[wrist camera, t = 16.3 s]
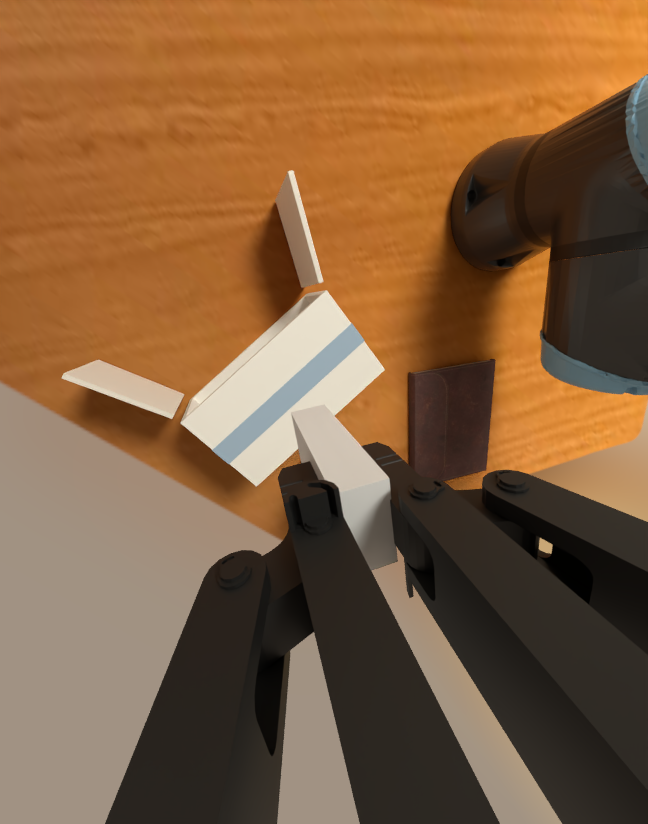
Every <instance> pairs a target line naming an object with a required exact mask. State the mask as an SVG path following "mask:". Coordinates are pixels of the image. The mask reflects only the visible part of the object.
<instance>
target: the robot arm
mask: <svg viewBox="0 0 648 824" xmlns="http://www.w3.org/2000/svg"><path fill="white" fill-rule="evenodd" d="M451 224H452V231H453V236H454V239H455V242H456V245H457V247H458V249H459V251H460V252H461V254H462V255H463V257H464V258H465V259H466V260H467V261H468V262H469V263H470V264H472V265H473V266H475V267H477V268H479V269H481V270H486V271H496V270H503V269H509V268H512V267H515V266H518V265H520V264H522V263H524V262H525V261H527V260H529V259H531V258H532V257H534V256H536V255H538V254H539V253H541V252H543V251H545V250H546V249H548V248H550V247H551V251H550V261H549V269H548V278H547V287H546V297H545V306H544V315H543V324H542V330H541V331H540V339H541V341H542V342H541V363H542V366H543V367H544V369H545V370H546V371H547V372H549V374H550V375H552V376H553V377H555V378H557V379H558V380H561V381H563V382H565V383H568V384H571V385H574V386H577V387H581V388H585V389H589V390H594V391H599V392H605V393H612V394H623V393H629V394H633V395H648V74H647V75H646V76H644V77H643V78H641V79H640V80H639V81H638V82H637V83H635V84H633V85H631V86H629V87H628V88H626V89H624V90H622V91H620V92H619V93H617V94H615V95H613V96H612V97H610V98H608V99H606V100H604V101H603V102H601V103H599V104H597V105H596V106H594V107H592V108H590V109H588V110H587V111H585V112H583V113H581V114H579V115H578V116H576V117H574V118H572V119H571V120H569V121H567V122H565V123H563V124H562V125H560V126H558V127H557V128H555V129H553V130H551V131H549V132H547V133H545V134H537V135H530V136H522V137H514V138H508V139H505V140H502V141H500V142H497V143H495V144H494V145H492V146H490V147H489V148H487V149H486V150H484V151H482V152H481V153H479V154H478V155H477V156H476V157H475V158H474V159H473V160H472V161H471V162H470V163H469V164H468V166H467V167H466V168H465V170H464V171H463V173H462V175H461V177H460V179H459V181H458V183H457V186H456V189H455V192H454V196H453V201H452V208H451ZM642 248H643V249H642ZM635 249H636V250H635ZM628 250H629V251H628ZM620 251H622V252H620ZM614 252H615V253H614ZM607 253H608V254H607ZM599 254H601V255H599ZM592 255H594V256H592ZM586 256H587V257H586ZM578 257H580V258H578ZM571 258H573V259H571ZM564 259H566V260H564ZM558 260H559V261H558ZM552 261H553V262H552ZM291 415H292V420H293V425H294V430H295V435H296V439H297V444H298V449H299V454H300V459H301V464H297V465H293V466H290V467H286V468H282V470H281V472H280V474H279V476H278V480H279V485H280V489H281V493H282V497H283V502H284V507H285V511H286V516H287V520H288V524H289V530H288V533H287V535H286V537H285V539H284V540H283V541H282V542H281V544H279V545H278V546H277V547H276V548H275V549H273V550H272V551H270V552H269V553H267V554H265V555H264V556H261V554H259V553H257V552H254V551H247V550H241V551H238V552H234V553H231V554H229V555H227V556H225V557H223V558H222V559H220V560H218V561H217V562H216V563H215V564H214V565H213V566H212V567H211V568H210V569H209V571H208V573H207V574H206V576H205V577H204V579H203V582H202V584H201V587H200V589H199V592H198V594H197V597H196V599H195V602H194V604H193V606H192V609H191V611H190V614H189V616H188V619H187V621H186V624H185V627H184V629H183V631H182V634H181V637H180V639H179V641H178V644H177V646H176V649H175V651H174V654H173V656H172V659H171V661H170V664H169V666H168V669H167V671H166V674H165V676H164V679H163V681H162V684H161V686H160V688H159V691H158V693H157V696H156V698H155V701H154V703H153V706H152V708H151V711H150V713H149V716H148V718H147V721H146V723H145V726H144V728H143V731H142V733H141V736H140V738H139V741H138V743H137V746H136V748H135V751H134V753H133V756H132V758H131V761H130V763H129V766H128V768H127V771H126V773H125V776H124V778H123V781H122V783H121V786H120V788H119V790H118V793H117V795H116V798H115V801H114V803H113V806H112V808H111V810H110V813H109V815H108V818H107V820H106V823H105V824H277V817H278V804H279V792H280V791H279V789H280V779H281V766H282V753H283V740H284V727H285V714H286V702H287V689H288V677H289V663H290V650H291V649H292V648H293V647H295V646H296V645H297V644H299V643H300V642H301V641H302V640H304V639H305V638H306V637H307V636H309V635H310V634H311V633H313V632H314V633H315V637H316V641H317V646H318V649H319V654H320V658H321V662H322V666H323V671H324V675H325V679H326V683H327V688H328V692H329V696H330V700H331V704H332V709H333V713H334V717H335V721H336V725H337V729H338V733H339V738H340V742H341V746H342V750H343V754H344V759H345V763H346V767H347V772H348V776H349V780H350V784H351V788H352V793H353V797H354V801H355V805H356V809H357V813H358V818H359V822H360V824H500V823H499V821H498V819H497V817H496V815H495V813H494V811H493V809H492V807H491V806H490V803H489V801H488V800H487V797H486V796H485V794H484V792H483V790H482V788H481V786H480V784H479V782H478V780H477V778H476V776H475V774H474V772H473V770H472V768H471V766H470V764H469V762H468V760H467V758H466V756H465V754H464V752H463V750H462V748H461V746H460V744H459V742H458V741H457V739H456V737H455V735H454V733H453V731H452V729H451V727H450V725H449V723H448V721H447V719H446V717H445V715H444V713H443V711H442V709H441V707H440V705H439V703H438V701H437V699H436V697H435V695H434V693H433V692H432V689H431V687H430V685H429V684H428V682H427V680H426V678H425V676H424V674H423V672H422V670H421V668H420V666H419V664H418V662H417V660H416V658H415V656H414V654H413V652H412V650H411V648H410V646H409V644H408V642H407V640H406V638H405V637H404V634H403V632H402V630H401V629H400V627H399V625H398V623H397V621H396V619H395V617H394V615H393V613H392V611H391V609H390V607H389V605H388V603H387V601H386V599H385V597H384V595H383V593H382V591H381V589H380V587H379V585H378V584H377V581H376V579H375V577H374V575H373V574H372V572H371V570H374V569H377V568H380V567H383V566H386V565H389V564H391V563H395V562H397V561H398V560H397V550H396V546H397V548H398V549H399V551H400V552H401V554H402V555H403V557H404V562H405V574H406V585H407V592H408V595H409V597H410V598H411V597H413V587H412V584H413V586H414V587H415V589H416V591H417V592H418V594H419V595H420V597H421V599H422V600H423V602H424V603H425V605H426V607H427V608H428V610H429V611H430V613H431V614H432V616H433V618H434V619H435V621H436V623H437V624H438V626H439V627H440V629H441V630H442V632H443V634H444V635H445V637H446V638H447V640H448V642H449V643H450V645H451V647H452V648H453V650H454V651H455V653H456V655H457V656H458V658H459V659H460V661H461V662H462V664H463V666H464V667H465V669H466V670H467V672H468V674H469V675H470V677H471V679H472V680H473V682H474V683H475V684H476V686H477V688H478V690H479V691H480V693H481V694H482V696H483V698H484V699H485V701H486V702H487V704H488V706H489V707H490V709H491V710H492V712H493V714H494V715H495V717H496V718H497V720H498V722H499V723H500V725H501V726H502V728H503V730H504V731H505V733H506V734H507V736H508V738H509V739H510V741H511V742H512V744H513V746H514V747H515V749H516V750H517V752H518V753H519V755H520V757H521V758H522V760H523V762H524V763H525V765H526V766H527V768H528V770H529V771H530V773H531V774H532V776H533V778H534V779H535V781H536V782H537V784H538V786H539V787H540V789H541V790H542V792H543V793H544V795H545V797H546V798H547V800H548V801H549V803H550V805H551V806H552V808H553V810H554V811H555V813H556V814H557V816H558V818H559V819H560V821H561V822H562V824H648V522H646V521H643V520H641V519H638V518H636V517H633V516H631V515H629V514H626V513H623V512H621V511H618V510H616V509H614V508H611V507H609V506H606V505H604V504H601V503H599V502H596V501H594V500H591V499H589V498H586V497H584V496H581V495H579V494H576V493H574V492H571V491H568V490H566V489H564V488H561V487H559V486H556V485H554V484H551V483H549V482H546V481H544V480H541V479H539V478H536V477H534V476H531V475H529V474H526V473H522V472H519V471H512V470H498V471H494V472H491V473H488V474H487V475H486V476H484V477H483V482H482V489H473V490H453V489H452V488H451V487H450V486H449V485H448V484H446V483H444V482H443V481H441V480H438V479H434V478H430V477H421V476H420V475H419V474H418V473H417V472H416V471H414V470H413V469H412V468H411V467H410V466H409V465H408V464H407V463H406V462H405V461H404V460H402V458H400V457H399V456H398V455H396V453H395V452H394V451H393V450H392V449H391V448H390V447H389V446H386V445H383V444H381V443H378V442H376V443H372V444H368V445H364V446H361V445H360V444H359V443H358V442H357V441H356V440H355V439H354V438H353V436H352V435H351V434H350V433H349V432H348V431H347V430H346V429H345V427H344V426H343V425H342V424H341V423H340V422H339V421H338V419H337V418H336V417H335V416H334V415H333V414H332V413H331V412H330V410H329V409H328V408H327V407H326V406H325V405H319V406H315V407H311V408H307V409H302V410H298V411H294V412H291ZM540 538H542V539H544V540H546V541H547V542H549V543H551V544H553V547H552V554H548V553H545V552H542V551H540V550H539V539H540Z"/></svg>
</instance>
